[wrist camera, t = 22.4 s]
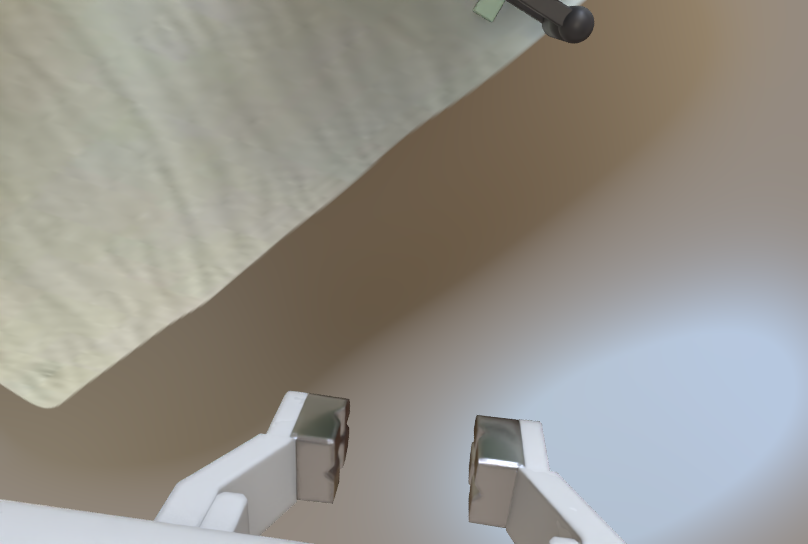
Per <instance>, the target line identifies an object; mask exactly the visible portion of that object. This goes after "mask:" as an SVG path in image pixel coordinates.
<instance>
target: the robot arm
mask: <svg viewBox="0 0 808 544" xmlns="http://www.w3.org/2000/svg"><path fill="white" fill-rule="evenodd" d="M349 413H350V401H349V399H345V398H338V397H331V396H325V395H318V394H311V393H310V394H308V393H302V392H294V391H289V392H288V393H286V394H285V396H284V398H283V400H282V402H281V405H280V407H279V409H278V411H277V413H276V415H275V417H274V419H273V421H272V423H271V425H270V427H269V429H268V432H267V434H259V435H257V436H256V437H254V438H252V439H251V440H249V441H248V442H246V443H244V444H242V445H241V446H239V447H237V448H236V449H234V450H232V451H230V452H229V453H227V454H225V455H224V456H222V457H220V458H219V459H217V460H215V461H214V462H212V463H210V464H209V465H207V466H205V467H204V468H202V469H201V470H199V471H197V472H195V473H193V474H192V475H190V476H188V477H187V478H185V479H184V480H182V481H180V482H178V483H177V484H176V486H175V488H174V489H173V491H172V492H171V494H170V495H169V497H168V499H167V500H166V502H165V503H164V505H163V507H162V509H161V510H160V512H159V513H158V515H157V516H156V518H155V519H154V521H150V520H143V519H136V518H129V517H122V516H115V515H108V514H101V513H93V512H87V511H80V510H73V509H66V508H59V507H52V506H45V505H38V504H30V503H24V502H17V501H9V500H3V499H0V544H313V543H305V542H298V541H291V540H284V539H277V538H270V537H263V536H260V535H261V534H262V533H263V532H264V531H265V530H266V529H267V528H268V527H270V525H272V524H273V523H274V522H275V521H276V520H277V519H278V518H279V517H280V516H281V515H283V514H284V513H285V512H286V511H287V510H288V509H289V508H290V507H291V506H293V505H294V504H295V503H296V502H297V500H304V501H314V502H323V503H332V504H333V501H334V498H335V494H336V491H337V487H338V484H339V473H340V469H341V468H342V467H343V466H344V462H345V458H346V453H347V448H348V438H349V427H348V425H347V420H348V417H349ZM469 484H470V493H469V522H471V523H477V524H484V525H490V526H496V527H502V528H506V531H507V533H508V534H509V536H510V537H511V539H512V540H513V542H514V544H626V543H625V542H624V540H623V539H622V538H621V537H619V535H618V534H617V533H616V532H615V531H614V530H613V529H612V528H611V527H610V526H609V525H608V524H607V523H606V522H605V521H604V520H603V519H602V518H601V517H600V516H599V515H598V514H597V513H596V512H595V511H594V510H593V509H592V508H591V507H590V506H589V505H588V504H587V503H586V502H585V501H584V500H583V499H582V498H581V497H580V496H579V495H578V494H577V493H576V492H575V491H574V490H573V489H572V487H571V486H570V485H569V484H567V482H566V481H565V480H564V479H563V478H562V477H561V476H560V475H559V474H558V473H557V472H553V471H550V468H549V462H548V456H547V451H546V445H545V440H544V434H543V429H542V424H541V423H540V421H531V420H520V419H519V420H515V419H506V418H498V417H489V416H481V415H477V416H476V420H475V426H474V442H473V443H472V446H471V453H470V462H469Z"/></svg>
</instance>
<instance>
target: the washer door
mask: <svg viewBox="0 0 808 544" xmlns="http://www.w3.org/2000/svg"><path fill="white" fill-rule="evenodd" d="M506 1H507V2H509V3H510V4H512V5H514V6H515V7H517V8H518V9H520V10H522V11H523V12H525V13H526V14H528V15H529V16H531V17H533V18H534V19H536V20H537V21H539V22H540V23H542V27H543V30H544V32H545V33H546V34H547V35H548V36H550V37H553V38H556V39H559V40H562V41H566V42H568V43H579V42H582V41H584V40H585V39H587V38H588V37H589V35H590V34H591V32H592V30H593V27H594V18H593V15H592V13H591V12H590V11H589V10H588V9H587V8H585V7H583V6H566V5H565V4H563V3H562V2H560V1H559V0H506ZM504 2H505V0H478V2H477V4H476V5H475V7H474V9H473V12H475V13H476V14H478V15H479V16H481V17H483V18H484V19H486V20H488V21H490V22H493V21H494V19H495V17H496V16H497V14H498V12H499V10H500V9H501V7H502V5H503V3H504Z"/></svg>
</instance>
